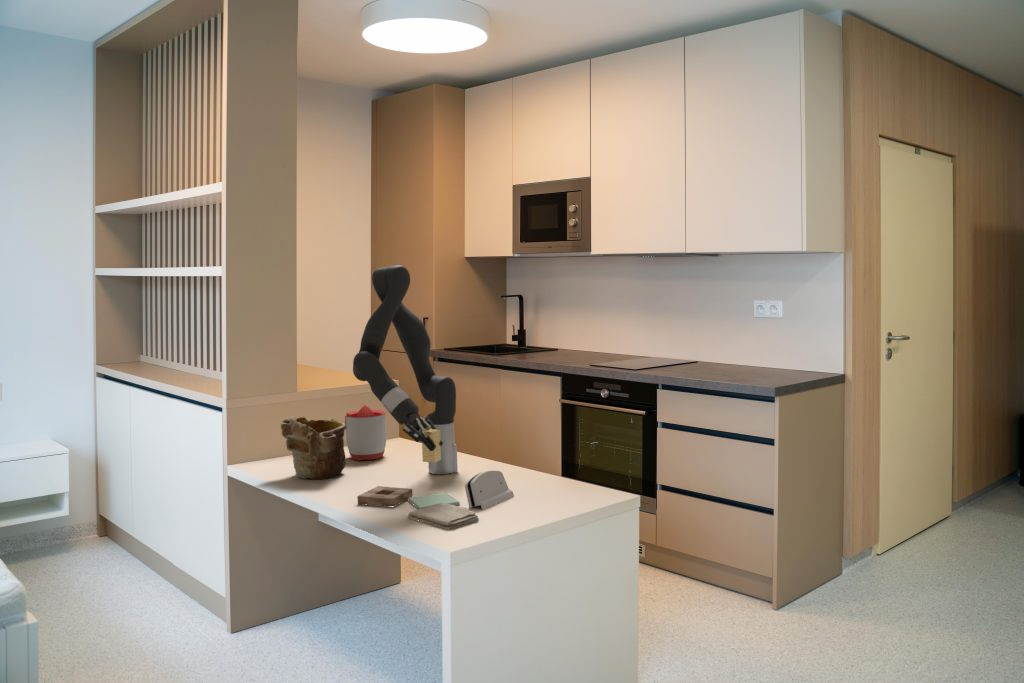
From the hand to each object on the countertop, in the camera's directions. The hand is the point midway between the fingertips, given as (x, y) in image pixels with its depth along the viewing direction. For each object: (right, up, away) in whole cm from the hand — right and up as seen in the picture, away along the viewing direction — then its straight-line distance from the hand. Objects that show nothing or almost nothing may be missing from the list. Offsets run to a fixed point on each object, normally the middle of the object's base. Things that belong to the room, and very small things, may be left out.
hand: (437, 447), depth 243 cm
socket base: (-16, -17, +6) cm, 24 cm away
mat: (-1, -17, +2) cm, 17 cm away
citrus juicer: (-33, -13, +68) cm, 76 cm away
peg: (-2, -4, +1) cm, 5 cm away
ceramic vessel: (-43, -15, +40) cm, 61 cm away
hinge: (+15, -17, +2) cm, 23 cm away
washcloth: (+3, -19, -15) cm, 24 cm away
